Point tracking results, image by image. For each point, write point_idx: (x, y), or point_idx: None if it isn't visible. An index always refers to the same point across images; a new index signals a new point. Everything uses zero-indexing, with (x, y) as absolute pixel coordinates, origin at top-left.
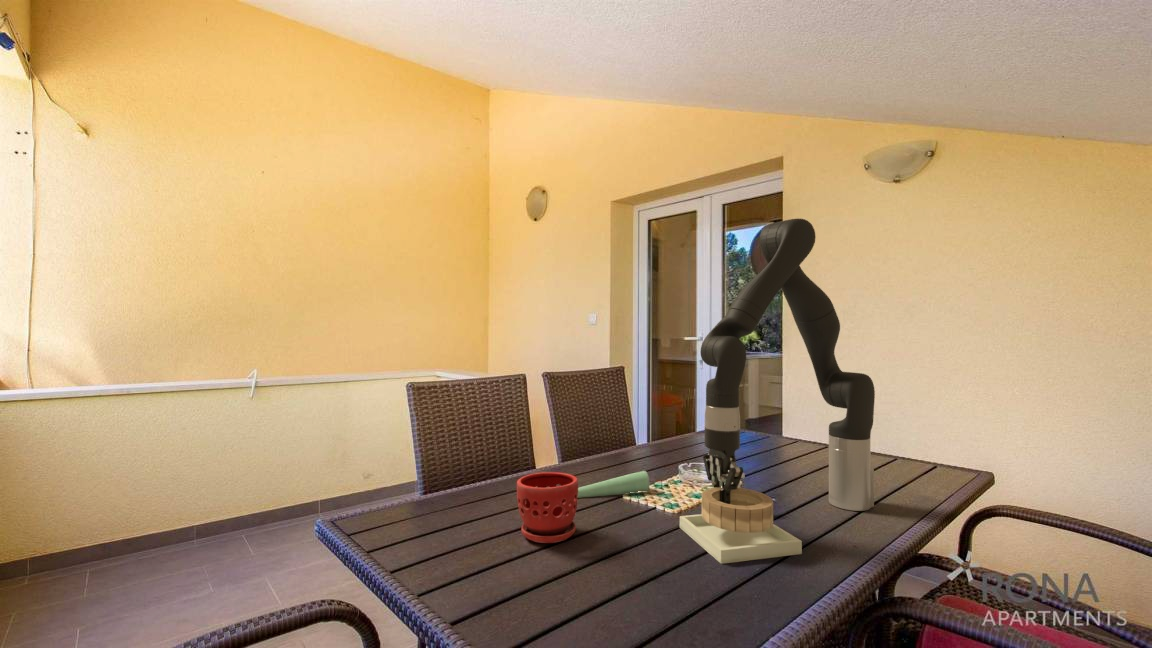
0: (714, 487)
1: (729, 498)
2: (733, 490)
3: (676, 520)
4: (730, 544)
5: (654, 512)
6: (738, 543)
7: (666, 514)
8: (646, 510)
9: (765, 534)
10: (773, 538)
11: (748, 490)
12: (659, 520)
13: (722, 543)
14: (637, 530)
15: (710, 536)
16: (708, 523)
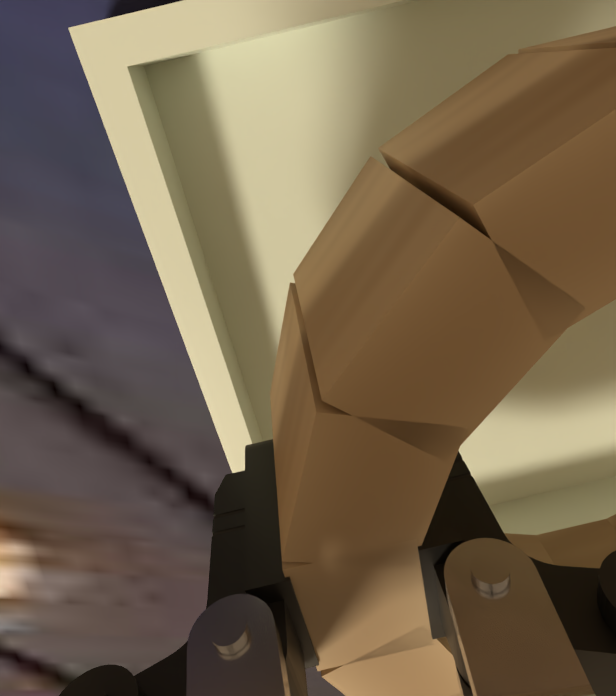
0: (322, 668)
1: (475, 488)
2: (440, 489)
3: (168, 558)
4: (595, 375)
5: (51, 639)
6: (597, 325)
7: (72, 593)
8: (26, 668)
9: (508, 49)
10: (604, 10)
11: (505, 275)
12: (177, 624)
13: (571, 414)
14: (310, 693)
15: (465, 453)
16: (259, 426)
